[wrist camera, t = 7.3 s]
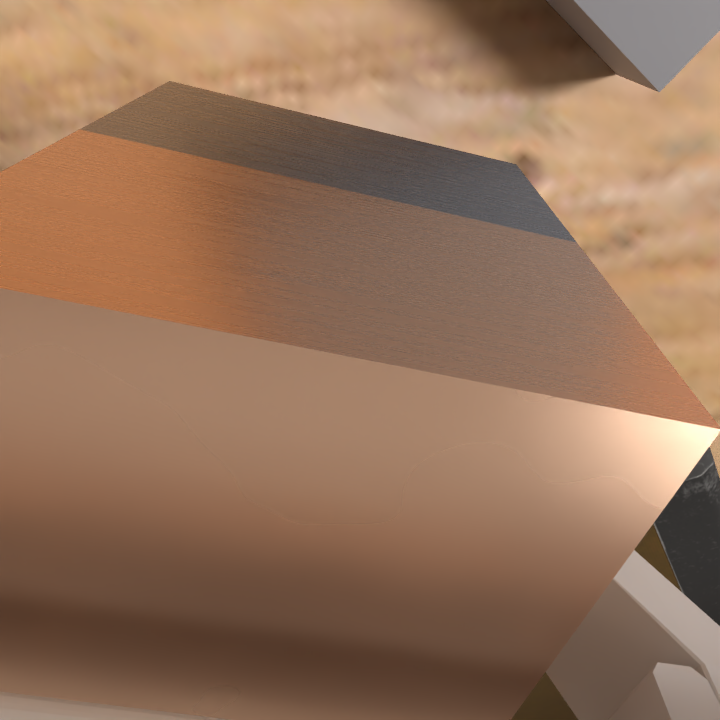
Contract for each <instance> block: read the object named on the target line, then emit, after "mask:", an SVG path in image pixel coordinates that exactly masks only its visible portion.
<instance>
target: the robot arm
mask: <svg viewBox="0 0 720 720" xmlns="http://www.w3.org/2000/svg"><path fill="white" fill-rule="evenodd" d="M546 673H547V675H548V676H549V678H550V679H551V681H552V682H553V684H554V685H555V687H556V688H557V689H558V691H559V692H560V694H561V695H562V697H563V698H564V700H565V701H566V702H567V704H568V705H569V707H570V708H571V710H572V711H573V713H574V714H575V716H576V717H577V718H578V720H720V626H719V625H718V624H717V623H716V622H714V621H713V620H712V619H711V618H710V617H709V616H708V615H707V614H705V613H704V612H703V611H702V610H701V609H700V608H699V607H698V606H696V605H695V604H694V603H693V602H692V601H691V600H690V599H689V598H688V597H686V596H685V595H684V594H683V593H682V592H681V591H680V590H679V589H677V588H676V587H675V586H674V585H673V584H672V583H671V582H670V581H668V580H667V579H666V578H665V577H664V576H663V575H662V574H661V573H659V572H658V571H657V570H656V569H655V568H654V567H653V566H652V565H650V564H649V563H648V562H647V561H646V560H645V559H644V558H643V557H642V556H640V555H639V554H638V553H637V552H636V551H635V550H634V551H633V552H632V553H631V555H630V556H629V558H628V559H627V560H626V562H625V563H624V565H623V566H622V567H621V569H620V570H619V571H618V573H617V574H616V576H615V577H614V578H613V580H612V581H611V582H610V584H609V585H608V587H607V588H606V589H605V591H604V592H603V593H602V595H601V596H600V598H599V599H598V600H597V602H596V603H595V604H594V606H593V607H592V609H591V610H590V611H589V613H588V614H587V615H586V617H585V618H584V620H583V621H582V622H581V624H580V625H579V627H578V628H577V629H576V631H575V632H574V633H573V635H572V636H571V638H570V639H569V640H568V642H567V643H566V644H565V646H564V647H563V649H562V650H561V651H560V653H559V654H558V655H557V657H556V658H555V660H554V661H553V662H552V664H551V665H550V666H549V668H548V669H547V671H546ZM0 720H231V719H222V718H214V717H206V716H198V715H189V714H181V713H173V712H165V711H156V710H148V709H140V708H132V707H123V706H115V705H107V704H99V703H90V702H82V701H74V700H65V699H57V698H49V697H41V696H33V695H24V694H16V693H8V692H0Z"/></svg>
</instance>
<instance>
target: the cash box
mask: <svg viewBox="0 0 720 720" xmlns="http://www.w3.org/2000/svg"><path fill="white" fill-rule="evenodd" d="M634 550H635V551H636V552H637V553H638V554H639V555H640V556H642V557H643V558H644V559H645V560H646V561H647V562H648V563H649V564H650V565H652V566H653V567H654V568H655V569H656V570H657V571H658V572H659V573H661V574H662V575H663V576H664V577H665V578H666V579H667V580H668V581H670V582H671V583H672V584H673V585H674V586H675V587H676V588H677V589H679V590H680V591H681V592H682V593H683V594H684V595H685V596H686V597H688V598H689V599H690V600H691V601H692V602H693V603H694V604H695V605H696V606H698V607H699V608H700V609H701V610H702V611H703V612H704V613H705V614H707V615H708V616H709V617H710V618H711V619H712V620H713V621H714V622H716V623H717V624H718V625H719V626H720V478H719V475H718V472H717V469H716V466H715V462H714V459H713V456H712V453H711V450H710V447H708V449H707V450H706V452H705V453H704V454H703V456H702V457H701V458H700V460H699V461H698V463H697V464H696V465H695V467H694V468H693V469H692V471H691V472H690V474H689V475H688V476H687V478H686V479H685V480H684V482H683V483H682V485H681V486H680V487H679V489H678V490H677V491H676V493H675V494H674V496H673V497H672V498H671V500H670V501H669V503H668V504H667V505H666V507H665V508H664V509H663V511H662V512H661V514H660V515H659V516H658V518H657V519H656V520H655V522H654V523H653V525H652V526H651V527H650V529H649V530H648V531H647V533H646V534H645V536H644V537H643V538H642V540H641V541H640V542H639V544H638V545H637V547H636V548H635V549H634ZM511 720H578V718H577V717H576V716H575V714H574V713H573V711H572V710H571V708H570V707H569V705H568V704H567V702H566V701H565V700H564V698H563V697H562V695H561V694H560V692H559V691H558V689H557V688H556V687H555V685H554V684H553V682H552V681H551V679H550V678H549V676H548V675H547V673H546V672H545V673H544V675H543V676H542V677H541V679H540V680H539V682H538V683H537V684H536V686H535V687H534V689H533V690H532V691H531V693H530V694H529V695H528V697H527V698H526V700H525V701H524V702H523V704H522V705H521V706H520V708H519V709H518V711H517V712H516V713H515V715H514V716H513V717H512V719H511Z"/></svg>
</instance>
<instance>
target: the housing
mask: <svg viewBox="0 0 720 720" xmlns="http://www.w3.org/2000/svg"><path fill="white" fill-rule="evenodd" d="M719 432H720V427H719V426H718V424H717V423H716V422H715V420H714V419H713V418H712V417H711V415H710V414H709V413H708V411H707V410H706V409H705V408H704V406H703V405H702V404H701V402H700V401H699V400H698V399H697V397H696V396H695V395H694V393H693V392H692V391H691V390H690V388H689V387H688V386H687V384H686V383H685V382H684V380H683V379H682V378H681V377H680V375H679V374H678V373H677V371H676V370H675V369H674V368H673V366H672V365H671V364H670V362H669V361H668V360H667V359H666V357H665V356H664V355H663V353H662V352H661V351H660V349H659V348H658V347H657V346H656V344H655V343H654V342H653V340H652V339H651V338H650V337H649V335H648V334H647V333H646V331H645V330H644V329H643V328H642V326H641V325H640V324H639V322H638V321H637V320H636V319H635V317H634V316H633V315H632V313H631V312H630V311H629V309H628V308H627V307H626V306H625V304H624V303H623V302H622V300H621V299H620V298H619V297H618V295H617V294H616V293H615V291H614V290H613V289H612V288H611V286H610V285H609V284H608V282H607V281H606V280H605V279H604V277H603V276H602V275H601V273H600V272H599V271H598V269H597V268H596V267H595V266H594V264H593V263H592V262H591V260H590V259H589V258H588V257H587V255H586V254H585V253H584V251H583V250H582V249H581V248H580V246H579V245H578V244H577V242H576V241H575V240H574V238H573V237H572V236H571V235H570V233H569V232H568V231H567V229H566V228H565V227H564V226H563V224H562V223H561V222H560V220H559V219H558V218H557V217H556V215H555V214H554V213H553V211H552V210H551V209H550V208H549V206H548V205H547V204H546V202H545V201H544V200H543V198H542V197H541V196H540V195H539V193H538V192H537V191H536V189H535V188H534V187H533V186H532V184H531V183H530V182H529V180H528V179H527V178H526V177H525V175H524V174H523V173H522V171H521V170H520V169H519V168H518V166H517V165H516V164H512V163H508V162H504V161H500V160H495V159H491V158H487V157H483V156H479V155H475V154H470V153H466V152H462V151H458V150H454V149H450V148H446V147H441V146H437V145H433V144H429V143H425V142H421V141H416V140H412V139H408V138H404V137H400V136H396V135H391V134H387V133H383V132H379V131H375V130H371V129H367V128H362V127H358V126H354V125H350V124H346V123H342V122H337V121H333V120H329V119H325V118H321V117H317V116H312V115H308V114H304V113H300V112H296V111H292V110H288V109H283V108H279V107H275V106H271V105H267V104H263V103H258V102H254V101H250V100H246V99H242V98H238V97H233V96H229V95H225V94H221V93H217V92H213V91H209V90H204V89H200V88H196V87H192V86H188V85H184V84H179V83H175V82H171V81H169V82H167V83H165V84H163V85H161V86H160V87H158V88H156V89H154V90H152V91H150V92H148V93H147V94H145V95H143V96H141V97H139V98H137V99H135V100H134V101H132V102H130V103H128V104H126V105H124V106H122V107H121V108H119V109H117V110H115V111H113V112H111V113H109V114H108V115H106V116H104V117H102V118H100V119H98V120H96V121H95V122H93V123H91V124H89V125H87V126H85V127H83V128H82V129H80V130H78V131H76V132H74V133H72V134H70V135H69V136H67V137H65V138H63V139H61V140H59V141H57V142H56V143H54V144H52V145H50V146H48V147H46V148H44V149H43V150H41V151H39V152H37V153H35V154H33V155H31V156H30V157H28V158H26V159H24V160H22V161H20V162H18V163H17V164H15V165H13V166H11V167H9V168H7V169H5V170H4V171H2V172H0V692H8V693H16V694H24V695H33V696H41V697H49V698H57V699H65V700H74V701H82V702H90V703H99V704H107V705H115V706H123V707H132V708H140V709H148V710H156V711H165V712H173V713H181V714H189V715H198V716H206V717H214V718H222V719H231V720H511V719H512V717H513V716H514V715H515V713H516V712H517V711H518V709H519V708H520V706H521V705H522V704H523V702H524V701H525V700H526V698H527V697H528V695H529V694H530V693H531V691H532V690H533V689H534V687H535V686H536V684H537V683H538V682H539V680H540V679H541V677H542V676H543V675H544V673H545V672H546V671H547V669H548V668H549V666H550V665H551V664H552V662H553V661H554V660H555V658H556V657H557V655H558V654H559V653H560V651H561V650H562V649H563V647H564V646H565V644H566V643H567V642H568V640H569V639H570V638H571V636H572V635H573V633H574V632H575V631H576V629H577V628H578V627H579V625H580V624H581V622H582V621H583V620H584V618H585V617H586V615H587V614H588V613H589V611H590V610H591V609H592V607H593V606H594V604H595V603H596V602H597V600H598V599H599V598H600V596H601V595H602V593H603V592H604V591H605V589H606V588H607V587H608V585H609V584H610V582H611V581H612V580H613V578H614V577H615V576H616V574H617V573H618V571H619V570H620V569H621V567H622V566H623V565H624V563H625V562H626V560H627V559H628V558H629V556H630V555H631V553H632V552H633V551H634V549H635V548H636V547H637V545H638V544H639V542H640V541H641V540H642V538H643V537H644V536H645V534H646V533H647V531H648V530H649V529H650V527H651V526H652V525H653V523H654V522H655V520H656V519H657V518H658V516H659V515H660V514H661V512H662V511H663V509H664V508H665V507H666V505H667V504H668V503H669V501H670V500H671V498H672V497H673V496H674V494H675V493H676V491H677V490H678V489H679V487H680V486H681V485H682V483H683V482H684V480H685V479H686V478H687V476H688V475H689V474H690V472H691V471H692V469H693V468H694V467H695V465H696V464H697V463H698V461H699V460H700V458H701V457H702V456H703V454H704V453H705V452H706V450H707V449H708V447H709V446H710V445H711V443H712V442H713V441H714V439H715V438H716V436H717V435H718V434H719Z"/></svg>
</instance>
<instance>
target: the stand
mask: <svg viewBox="0 0 720 720" xmlns="http://www.w3.org/2000/svg"><path fill="white" fill-rule="evenodd" d="M546 1H547V2H548V3H549V4H550V5H551V6H552V7H553V8H554V10H555V11H556V12H557V13H558V14H559V15H560V16H561V17H562V18H563V19H564V20H565V21H566V22H567V23H568V24H569V25H570V26H571V27H572V28H573V29H574V30H575V31H576V33H577V34H578V35H579V36H580V37H581V38H582V39H583V40H584V41H585V42H586V43H587V44H588V45H589V46H590V47H591V48H592V49H593V50H594V51H595V52H596V53H597V54H598V56H599V57H600V58H601V59H602V60H603V61H604V62H605V63H606V64H607V65H608V66H609V67H610V68H611V69H612V70H613V71H614V72H615V73H616V74H617V75H619V76H621V77H624V78H626V79H629V80H631V81H634V82H636V83H638V84H641V85H643V86H646V87H648V88H651V89H653V90H656V91H658V92H660V91H661V90H662V89H663V88H664V87H665V86H666V85H667V84H668V83H669V82H670V81H671V80H672V79H673V78H674V77H675V76H676V75H677V74H678V73H679V72H680V71H681V70H682V69H683V68H684V67H685V65H686V64H687V63H688V62H689V61H690V60H691V59H692V58H693V57H694V56H695V55H696V54H697V53H698V52H699V51H700V50H701V49H702V48H703V47H704V46H705V45H706V44H707V43H708V42H709V41H710V40H711V39H712V38H713V37H714V36H715V35H716V34H717V33H718V32H719V31H720V0H546Z"/></svg>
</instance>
